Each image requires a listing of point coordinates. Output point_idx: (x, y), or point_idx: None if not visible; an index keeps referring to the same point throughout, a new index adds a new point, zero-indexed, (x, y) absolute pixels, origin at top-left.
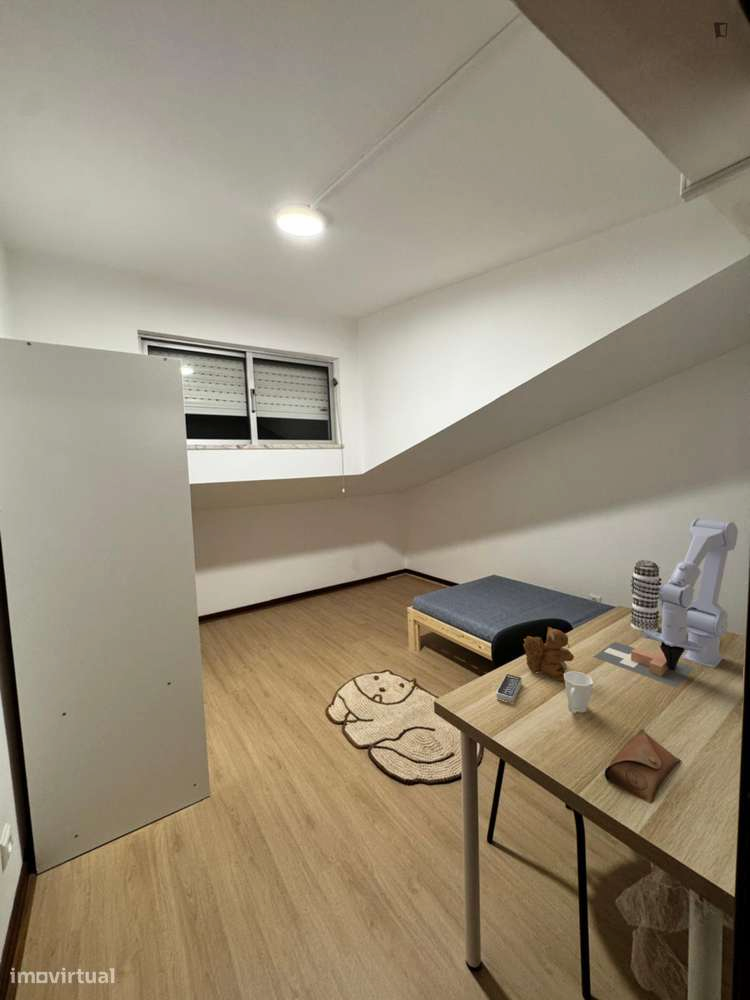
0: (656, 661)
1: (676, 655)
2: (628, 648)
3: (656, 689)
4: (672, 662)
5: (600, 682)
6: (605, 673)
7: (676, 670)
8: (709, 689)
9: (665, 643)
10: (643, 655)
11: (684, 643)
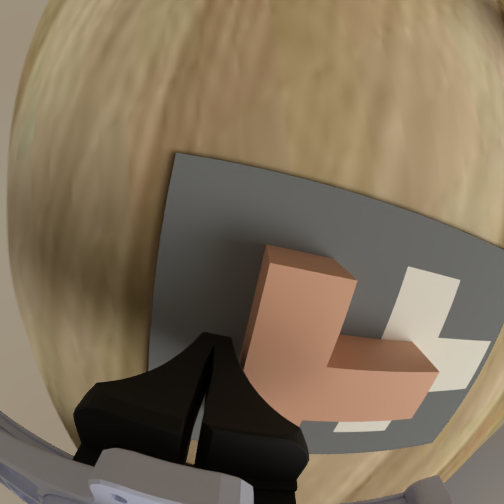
0: (308, 335)
1: (140, 385)
2: (398, 434)
3: (275, 74)
4: (197, 356)
5: (470, 45)
6: (486, 130)
7: None
8: (61, 261)
9: (241, 493)
10: (384, 370)
11: (42, 498)
